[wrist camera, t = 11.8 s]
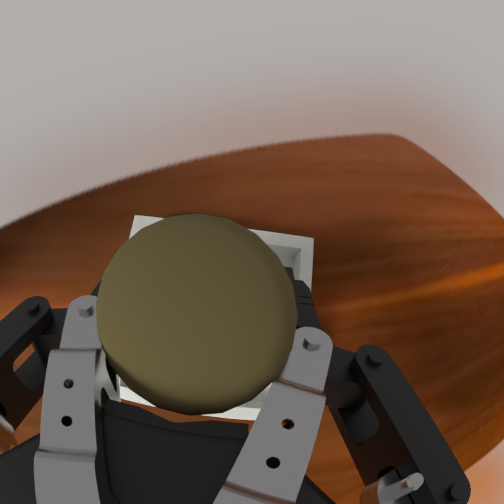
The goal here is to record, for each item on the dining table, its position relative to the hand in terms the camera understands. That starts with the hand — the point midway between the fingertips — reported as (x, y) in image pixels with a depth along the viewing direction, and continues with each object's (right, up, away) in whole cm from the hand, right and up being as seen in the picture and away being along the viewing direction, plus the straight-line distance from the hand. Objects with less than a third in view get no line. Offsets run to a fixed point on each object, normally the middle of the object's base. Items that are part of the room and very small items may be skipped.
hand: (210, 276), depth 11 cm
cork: (-1, -3, +5) cm, 6 cm away
